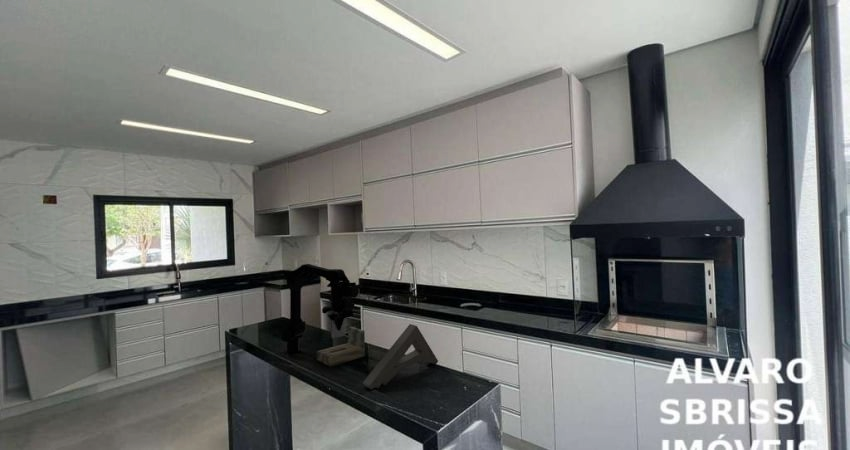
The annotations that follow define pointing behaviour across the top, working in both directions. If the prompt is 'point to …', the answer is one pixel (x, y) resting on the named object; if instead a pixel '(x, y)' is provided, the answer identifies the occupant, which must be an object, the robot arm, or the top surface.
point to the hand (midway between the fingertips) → (337, 330)
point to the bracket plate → (335, 331)
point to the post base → (345, 349)
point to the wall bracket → (400, 357)
